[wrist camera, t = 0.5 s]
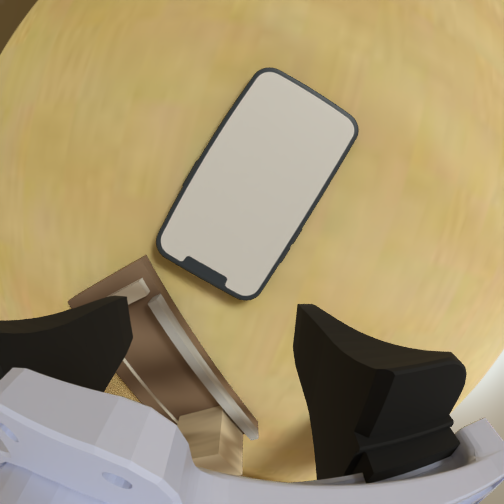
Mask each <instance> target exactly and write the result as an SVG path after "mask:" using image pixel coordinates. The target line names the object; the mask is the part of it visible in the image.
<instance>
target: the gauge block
mask: <svg viewBox="0 0 504 504" xmlns="http://www.w3.org/2000/svg"><path fill="white" fill-rule="evenodd" d="M177 427H178V428H179V430H180V431H181V433H182V434H183V436H184V437H185V439H186V441H187V442H188V444H189V448H190V452H191V456H192V460H193V462H194V464H195V466H197V467H201V468H205V469H209V470H213V471H218V472H222V473H227V474H232V475H237V476H238V475H242V461H243V431H242V430H241V429H240V428H239V426H238V425H237V424H236V423H235V422H234V421H233V420H232V418H231V417H230V416H229V415H228V414H227V413H226V411H225V410H224V409H223V408H222V407H221V405H220V406H217V407H213V408H210V409H206V410H202V411H198V412H195V413H191V414H187V415H182V416H180V417H179V421H178V425H177Z"/></svg>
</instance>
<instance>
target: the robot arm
mask: <svg viewBox="0 0 504 504" xmlns="http://www.w3.org/2000/svg"><path fill="white" fill-rule="evenodd" d="M132 340H133V333H132V327H131V321H130V315H129V308H128V301H127V296H116V295H114V296H109V297H105V298H102V299H99V300H96V301H93V302H90V303H87V304H84V305H82V306H79V307H76V308H73V309H69V310H66V311H63V312H60V313H56V314H53V315H48V316H44V317H39V318H32V319H24V320H11V321H0V504H478V503H480V502H481V501H482V500H483V499H484V498H485V497H487V496H488V495H489V494H490V493H491V492H492V491H493V490H494V489H495V488H496V487H497V486H498V485H499V484H500V483H501V482H502V481H503V480H504V441H503V440H502V438H501V437H500V436H499V434H498V433H497V432H496V431H495V429H494V428H493V427H492V426H491V424H490V423H489V422H488V420H487V419H486V418H482V419H480V420H478V421H475V422H473V423H471V424H469V425H467V426H464V427H463V428H461V429H460V430H459V431H457V432H456V433H455V434H454V433H453V431H452V430H451V428H450V427H452V425H453V419H452V418H451V417H450V415H449V414H450V412H451V411H452V409H453V407H454V405H455V403H456V402H457V400H458V398H459V396H460V394H461V392H462V390H463V387H464V385H465V380H466V369H465V366H464V365H463V364H462V363H461V362H460V361H459V360H458V359H457V357H456V356H455V355H454V354H453V353H451V352H440V351H425V350H418V349H412V348H407V347H402V346H398V345H394V344H391V343H387V342H384V341H381V340H378V339H375V338H373V337H370V336H368V335H366V334H363V333H361V332H359V331H357V330H355V329H353V328H351V327H349V326H348V325H346V324H344V323H342V322H341V321H339V320H337V319H336V318H334V317H333V316H331V315H330V314H328V313H326V312H325V311H323V310H322V309H320V308H319V307H317V306H315V305H313V304H298V305H297V315H296V324H295V333H294V342H293V351H294V358H295V365H296V369H297V372H298V376H299V379H300V382H301V386H302V389H303V392H304V396H305V399H306V402H307V406H308V410H309V415H310V422H311V428H312V435H313V443H314V452H315V462H316V473H317V480H314V481H304V482H292V483H287V482H277V481H269V480H261V479H254V478H248V477H242V476H237V475H232V474H227V473H222V472H218V471H213V470H209V469H205V468H201V467H197V466H195V464H194V462H193V460H192V456H191V452H190V448H189V444H188V442H187V441H186V439H185V437H184V436H183V434H182V433H181V431H180V430H179V428H178V427H177V425H176V424H174V423H173V422H172V421H170V420H169V419H167V418H166V417H164V416H163V415H162V414H160V413H159V412H157V411H156V410H155V409H153V408H152V407H150V406H147V405H144V404H142V403H139V402H136V401H133V400H131V399H128V398H125V397H122V396H117V395H113V394H108V393H104V391H105V389H106V387H107V386H108V384H109V382H110V381H111V379H112V377H113V376H114V374H115V372H116V371H117V369H118V368H119V366H120V364H121V363H122V361H123V359H124V358H125V356H126V354H127V352H128V350H129V347H130V345H131V342H132Z"/></svg>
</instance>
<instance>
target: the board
mask: <svg viewBox="0 0 504 504" xmlns="http://www.w3.org/2000/svg"><path fill="white" fill-rule="evenodd" d="M114 295H116V296H127V301H128V308H129V315H130V321H131V327H132V333H133V340H132V342H131V345H130V347H129V350H128V352H127V354H126V356H125V358H124V359H123V361H122V363H121V364H120V366H119V368H118V369H117V371H116V373H117V374H118V376H119V377H120V378H121V379H122V381H123V382H124V383H125V384H126V385H127V387H128V388H129V389H130V390H131V391H132V392H133V394H134V395H135V396H136V397H137V398H138V399H139V400H140V402H141V403H142V404H144V405H147V406H150V407H152V408H153V409H155V410H156V411H157V412H159V413H160V414H162V415H163V416H164V417H166V418H167V419H169V420H170V421H172V422H173V423H174V424H176V425H178V421H179V417H180V416H182V415H187V414H191V413H195V412H198V411H202V410H206V409H210V408H213V407H217V406H220V405H221V407H222V408H223V409H224V410H225V411H226V413H227V414H228V415H229V416H230V417H231V418H232V420H233V421H234V422H235V423H236V424H237V425H238V426H239V428H240V429H241V430H242V431H243V434H246V435H247V436H248V438H249V439H250V440H255V439H258V438H259V437H258V421H257V420H256V419H255V418H254V416H253V415H252V414H251V413H250V411H249V410H248V409H247V407H246V406H245V405H244V404H243V402H242V401H241V400H240V398H239V397H238V396H237V394H236V393H235V392H234V390H233V389H232V388H231V386H230V385H229V384H228V382H227V381H226V380H225V378H224V377H223V375H222V374H221V373H220V371H219V370H218V369H217V367H216V366H215V364H214V363H213V361H212V360H211V359H210V357H209V356H208V354H207V353H206V351H205V350H204V348H203V347H202V345H201V344H200V342H199V341H198V339H197V338H196V336H195V335H194V333H193V332H192V330H191V329H190V327H189V326H188V324H187V323H186V321H185V319H184V318H183V316H182V315H181V313H180V312H179V310H178V308H177V307H176V305H175V303H174V302H173V300H172V299H171V297H170V295H169V294H168V292H167V290H166V289H165V287H164V285H163V283H162V282H161V280H160V278H159V277H158V275H157V273H156V271H155V270H154V268H153V266H152V264H151V263H150V261H149V259H148V257H147V255H145V256H143V257H141V258H140V259H138V260H136V261H134V262H132V263H131V264H129V265H127V266H125V267H124V268H122V269H120V270H118V271H117V272H115V273H113V274H111V275H110V276H108V277H106V278H104V279H103V280H101V281H99V282H98V283H96V284H94V285H93V286H91V287H89V288H87V289H86V290H84V291H82V292H81V293H79V294H77V295H76V296H74V297H73V298H72V299H70V300H69V301H68V303H69V305H70V307H71V308H72V309H73V308H76V307H79V306H82V305H84V304H87V303H90V302H93V301H96V300H99V299H102V298H105V297H109V296H114Z"/></svg>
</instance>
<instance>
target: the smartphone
mask: <svg viewBox="0 0 504 504" xmlns="http://www.w3.org/2000/svg"><path fill="white" fill-rule="evenodd" d="M357 136H358V125H357V122H356V120H355V119H354V118H353V117H352V116H351V115H350V114H349V113H347V112H346V111H344V110H343V109H342V108H340V107H339V106H337V105H336V104H334V103H333V102H331V101H330V100H328V99H327V98H325V97H324V96H322V95H321V94H319V93H318V92H316V91H314V90H313V89H311V88H310V87H308V86H306V85H305V84H303V83H301V82H300V81H298V80H296V79H294V78H293V77H291V76H289V75H287V74H286V73H284V72H282V71H280V70H278V69H275V68H264V69H261V70H259V71H258V72H256V73H255V74H254V76H253V77H252V79H251V80H250V81H249V83H248V84H247V86H246V87H245V88H244V90H243V91H242V93H241V94H240V96H239V97H238V98H237V100H236V101H235V103H234V104H233V106H232V107H231V109H230V110H229V112H228V113H227V115H226V116H225V118H224V119H223V121H222V122H221V124H220V126H219V127H218V129H217V130H216V132H215V133H214V135H213V137H212V138H211V140H210V141H209V143H208V145H207V146H206V148H205V149H204V151H203V153H202V154H201V156H200V158H199V159H198V160H197V161H196V162H195V164H194V166H193V168H192V169H191V171H190V173H189V174H188V176H187V178H186V180H185V181H184V183H183V187H182V189H181V191H180V193H179V194H178V196H177V198H176V200H175V202H174V204H173V206H172V207H171V209H170V211H169V213H168V215H167V217H166V219H165V221H164V223H163V225H162V227H161V229H160V231H159V233H158V235H157V238H156V245H157V249H158V251H159V252H160V254H161V255H162V256H163V257H165V258H166V259H168V260H170V261H171V262H173V263H175V264H176V265H178V266H180V267H182V268H183V269H185V270H187V271H189V272H190V273H192V274H194V275H196V276H197V277H199V278H201V279H203V280H204V281H206V282H208V283H210V284H211V285H213V286H215V287H217V288H219V289H220V290H222V291H224V292H226V293H228V294H230V295H231V296H233V297H235V298H237V299H239V300H246V301H247V300H252V299H254V298H256V297H257V296H258V295H259V294H260V293H261V292H262V290H263V289H264V287H265V286H266V284H267V282H268V281H269V279H270V278H271V276H272V275H273V273H274V272H275V270H276V269H277V267H278V265H279V264H280V263H281V262H282V261H283V259H284V258H285V256H286V254H287V253H288V251H289V250H290V247H291V245H292V244H293V243H294V242H295V240H296V239H297V237H298V235H299V234H300V232H301V231H302V228H303V226H304V224H305V223H306V221H307V220H308V218H309V216H310V215H311V213H312V211H313V210H314V208H315V207H316V205H317V203H318V202H319V200H320V198H321V197H322V195H323V194H324V192H325V190H326V189H327V187H328V185H329V184H330V182H331V180H332V179H333V177H334V175H335V174H336V172H337V170H338V169H339V167H340V165H341V164H342V162H343V160H344V159H345V157H346V155H347V154H348V152H349V150H350V148H351V147H352V145H353V143H354V142H355V140H356V138H357Z"/></svg>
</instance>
